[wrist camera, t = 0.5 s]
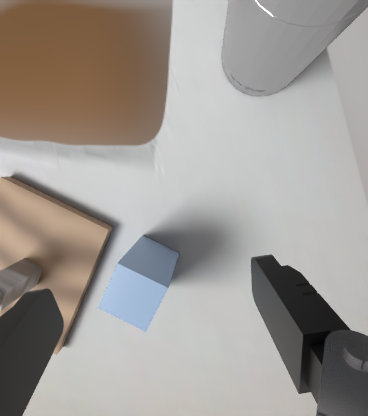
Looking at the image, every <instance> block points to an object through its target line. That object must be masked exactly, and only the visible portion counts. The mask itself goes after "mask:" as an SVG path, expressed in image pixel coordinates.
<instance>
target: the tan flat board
mask: <svg viewBox="0 0 368 416" xmlns="http://www.w3.org/2000/svg"><path fill="white" fill-rule="evenodd" d="M112 229H113V227H112V226H110V225H108V224H106V223H104V222H102V221H100V220H98V219H96V218H94V217H92V216H90V215H88V214H86V213H84V212H81V211H79V210H77V209H75V208H73V207H71V206H69V205H67V204H65V203H63V202H61V201H59V200H57V199H55V198H53V197H51V196H49V195H47V194H45V193H43V192H41V191H39V190H37V189H34V188H32V187H30V186H28V185H26V184H24V183H22V182H20V181H18V180H16V179H14V178H12V177H1V178H0V316H2V315H3V314H4V313H5V312H7V311H8V310H9V309H10V308H12V307H13V306H14V305H15V304H16V302H17V301H18V300H19V299H20V298H21V296H22V295H23V294H24V293H25V292H27V291H34V290H40V289H50V290H51V291H52V293H53V295H54V298H55V300H56V302H57V305H58V307H59V310H60V312H61V314H62V317H63V320H64V328H63V333H62V335H61V337H60V339H59V342H58V344H57V346H56V348H55V350H54V352H53V353H54V354H57V353H58V352H59V351H60V350H61V348H62V347H63V345H64V343H65V340H66V338H67V335H68V333H69V331H70V328H71V326H72V324H73V321H74V319H75V316H76V314H77V312H78V309H79V307H80V305H81V302H82V300H83V297H84V295H85V293H86V290H87V288H88V286H89V283H90V281H91V279H92V276H93V274H94V271H95V269H96V267H97V264H98V262H99V260H100V257H101V255H102V252H103V250H104V248H105V245H106V243H107V241H108V238H109V236H110V233H111V231H112Z"/></svg>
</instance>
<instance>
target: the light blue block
mask: <svg viewBox="0 0 368 416" xmlns="http://www.w3.org/2000/svg"><path fill="white" fill-rule="evenodd" d="M178 256H179V253H178V252H176V251H174V250H172V249H169V248H167V247H165V246H163V245H161V244H159V243H157V242H155V241H153V240H151V239H149V238H147V237H145V236H142V237H141V238H140V239H139V240H138V241H137V242H136V243H135V244H134V246H133V247H132V248H131V249H130V250H129V251H128V252H127V253H126V254H125V255H124V257H123V258H122V259H121V260H120V261H119V262H118V263H117V265H116V268H115V270H114V272H113V274H112V277H111V279H110V281H109V284H108V286H107V288H106V290H105V293H104V295H103V297H102V299H101V302H100V304H99V306H98V308H99V309H101V310H103V311H105V312H107V313H109V314H111V315H113V316H115V317H117V318H119V319H121V320H123V321H125V322H127V323H129V324H131V325H133V326H136V327H138V328H140V329H142V330H144V331H147V329H148V327H149V325H150V323H151V321H152V319H153V317H154V315H155V313H156V311H157V309H158V307H159V305H160V303H161V301H162V299H163V297H164V296H165V294H166V292H167V290H168V287H169V284H170V281H171V278H172V275H173V272H174V268H175V265H176V262H177V259H178Z"/></svg>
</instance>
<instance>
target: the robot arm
mask: <svg viewBox="0 0 368 416" xmlns="http://www.w3.org/2000/svg"><path fill="white" fill-rule="evenodd" d="M367 7H368V0H229V1H228V8H227V16H226V23H225V30H224V38H223V45H222V65H223V69H224V72H225V75H226V76H227V78H228V80H229V81H230V83H231V84H232V85H233V86H234V87H235V88H236V89H238V90H239V91H241V92H243V93H245V94H248V95H251V96H267V95H271V94H274V93H276V92H278V91H280V90H281V89H283V88H285V87H286V86H287V85H288V84H289V83H290V82H291V81H292V80H293V79H294V78H296V77H297V76H298V75H299V74H300V73H301V72H302V71H303V70H304V69H305V68H306V67H307V66H308V65H309V64H310V63H311V62H312V61H313V60H314V59H315V58H316V57H317V56H318V55H319V54H320V53H321V52H322V51H323V50H324V49H325V48H326V47H327V46H328V45H329V44H330V43H331V42H332V41H333V40H334V39H335V38H337V36H338V35H340V33H342V31H343V30H344V29H345V28H347V27H348V26H349V25H350V24H351V23H352V22H353V21H354V20H355V18H357V17H358V16H359V15H360V14H361V13H362V12H363V11H364V10H365V9H366V8H367ZM251 274H252V292H253V297H254V301H255V303H256V306H257V308H258V310H259V312H260V314H261V316H262V318H263V320H264V322H265V324H266V327H267V329H268V331H269V333H270V335H271V337H272V339H273V341H274V343H275V345H276V347H277V349H278V351H279V353H280V356H281V358H282V360H283V362H284V364H285V366H286V368H287V370H288V372H289V374H290V376H291V378H292V380H293V383H294V385H295V387H296V389H297V391H298V393H299V394H301V393H307V392H311V393H312V395H313V397H314V399H315V401H316V402H317V404H318V405H317V414H316V416H368V336H366V335H364V334H362V333H359V332H355V331H351V330H350V329H349V327H348V326H347V325H346V324H345V323H344V322H343V321H342V319H341V318H340V317H339V316H338V315H337V314H336V313H335V311H334V310H333V309H332V308H331V307H330V306H329V305H328V303H327V302H326V301H325V300H324V299H323V298H322V297H321V295H320V294H319V293H317V291H316V290H315V289H314V288H313V286H312V285H310V284H309V282H308V281H307V280H306V278H305V277H304V276H303V275H302V274H301V273H300V272H298V271H297V270H295V269H293V268H292V267H290V266H288V265H287V266H281V265H280V264H279V263H278V262H277V260H276V259H275V258H274V257H273V255H264V256H258V257H252V259H251ZM63 328H64V320H63V317H62V314H61V312H60V310H59V307H58V305H57V302H56V300H55V298H54V295H53V293H52V291H51V290H50V289H40V290H34V291H27V292H25V293H24V294H23V295H22V296H21V298H20V299H19V300H18V301H17V302H16V304H15V305H14V306H13V307H12V308H10V309H9V310H8V311H7V312H5V313H4V314H3V315H2V316H0V416H22V415H23V413H24V411H25V409H26V407H27V405H28V403H29V401H30V399H31V397H32V395H33V393H34V390H35V388H36V386H37V384H38V382H39V380H40V378H41V376H42V374H43V372H44V370H45V368H46V366H47V364H48V362H49V360H50V358H51V356H52V354H53V352H54V350H55V348H56V346H57V344H58V342H59V339H60V337H61V335H62V333H63Z"/></svg>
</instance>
